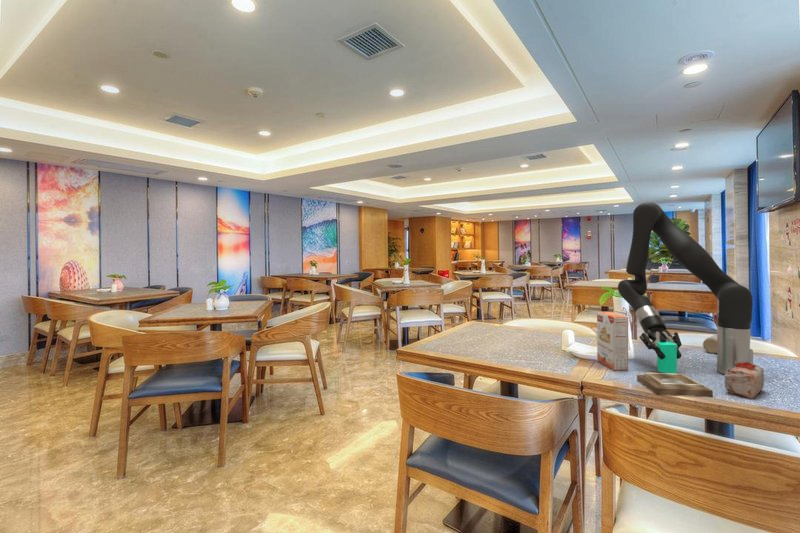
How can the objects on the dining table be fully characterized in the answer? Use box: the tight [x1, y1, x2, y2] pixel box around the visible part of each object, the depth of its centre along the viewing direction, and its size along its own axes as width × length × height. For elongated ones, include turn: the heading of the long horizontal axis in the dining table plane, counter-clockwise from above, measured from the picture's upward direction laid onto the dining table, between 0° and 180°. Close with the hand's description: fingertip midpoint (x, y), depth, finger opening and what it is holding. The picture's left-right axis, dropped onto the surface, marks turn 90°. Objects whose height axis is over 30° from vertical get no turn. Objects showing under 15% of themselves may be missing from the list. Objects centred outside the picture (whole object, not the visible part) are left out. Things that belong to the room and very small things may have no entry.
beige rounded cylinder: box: [702, 334, 717, 355], centre depth 172 cm, size 11×8×8 cm
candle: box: [656, 342, 678, 374], centre depth 143 cm, size 6×6×12 cm
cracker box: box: [596, 311, 629, 372], centre depth 155 cm, size 14×6×21 cm, turn 177°
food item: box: [724, 361, 765, 400], centre depth 124 cm, size 14×8×10 cm, turn 128°
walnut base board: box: [636, 372, 714, 398], centre depth 129 cm, size 16×14×3 cm
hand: (671, 357), depth 142 cm, fingers closed on candle, 5 cm apart
